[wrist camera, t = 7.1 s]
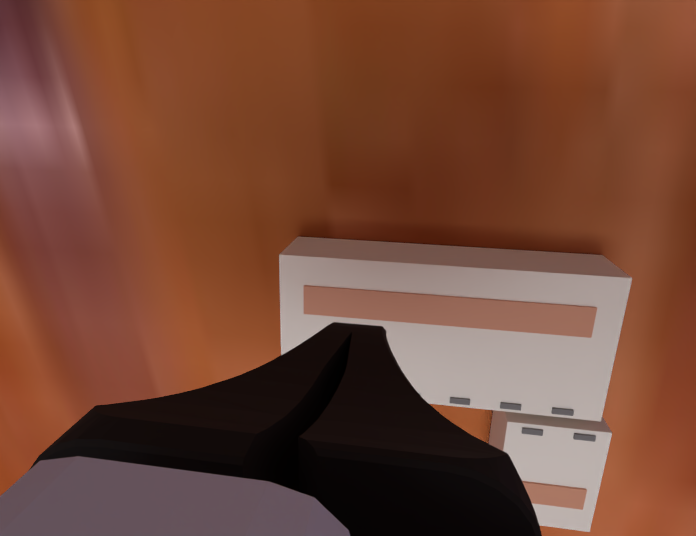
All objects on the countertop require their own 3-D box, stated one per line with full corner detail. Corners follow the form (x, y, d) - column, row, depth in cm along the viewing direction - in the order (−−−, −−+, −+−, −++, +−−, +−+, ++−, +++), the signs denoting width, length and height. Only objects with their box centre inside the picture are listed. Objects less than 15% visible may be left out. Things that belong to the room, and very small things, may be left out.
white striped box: (602, 255, 20) (633, 278, 17) (577, 381, 22) (601, 423, 19) (297, 236, 22) (278, 255, 19) (298, 355, 23) (281, 389, 21)
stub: (587, 391, 22) (613, 434, 19) (569, 481, 23) (590, 533, 20) (496, 382, 22) (507, 423, 19) (484, 471, 24) (493, 520, 21)
